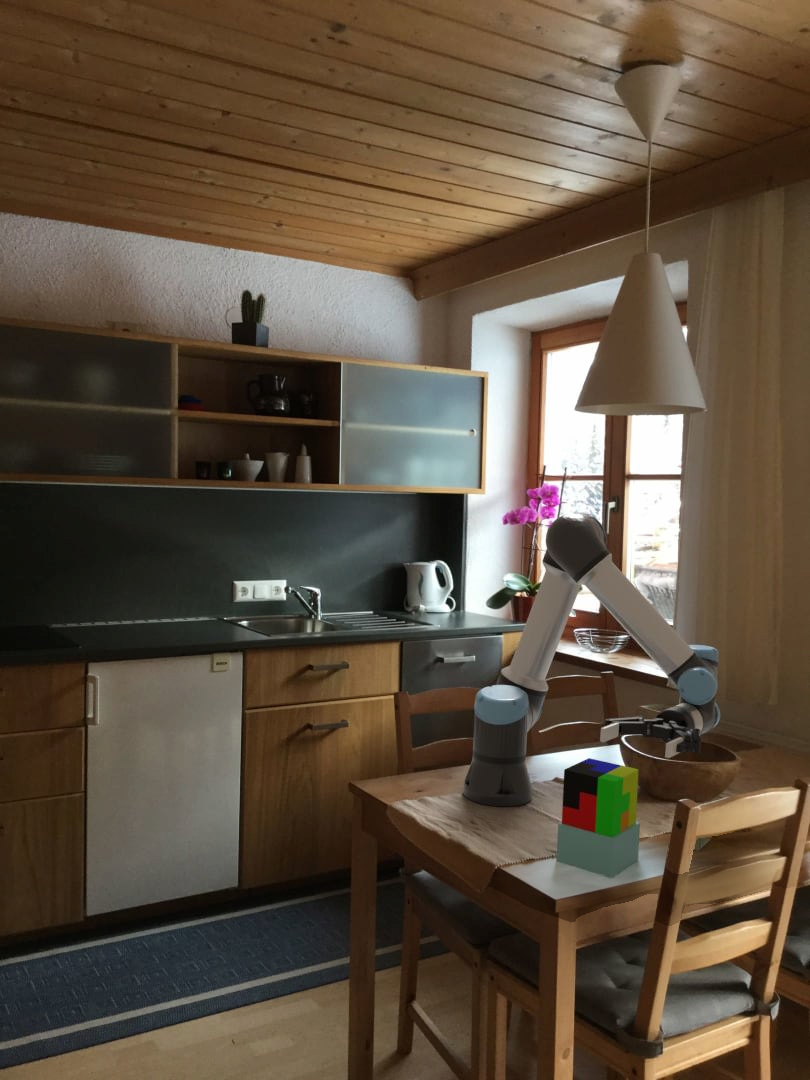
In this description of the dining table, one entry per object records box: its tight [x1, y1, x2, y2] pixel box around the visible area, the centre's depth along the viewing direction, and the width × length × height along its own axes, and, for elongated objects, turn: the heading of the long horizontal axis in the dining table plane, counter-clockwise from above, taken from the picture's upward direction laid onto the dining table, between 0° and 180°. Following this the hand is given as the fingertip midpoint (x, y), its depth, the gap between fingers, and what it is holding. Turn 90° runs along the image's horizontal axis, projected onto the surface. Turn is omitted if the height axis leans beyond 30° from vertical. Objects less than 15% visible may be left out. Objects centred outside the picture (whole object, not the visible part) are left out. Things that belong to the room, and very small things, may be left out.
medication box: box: [694, 837, 714, 851], centre depth 184 cm, size 12×3×4 cm, turn 146°
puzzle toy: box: [561, 758, 640, 838], centre depth 171 cm, size 10×10×10 cm
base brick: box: [556, 821, 641, 879], centre depth 172 cm, size 11×11×7 cm
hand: (633, 742), depth 181 cm, fingers open, 13 cm apart
